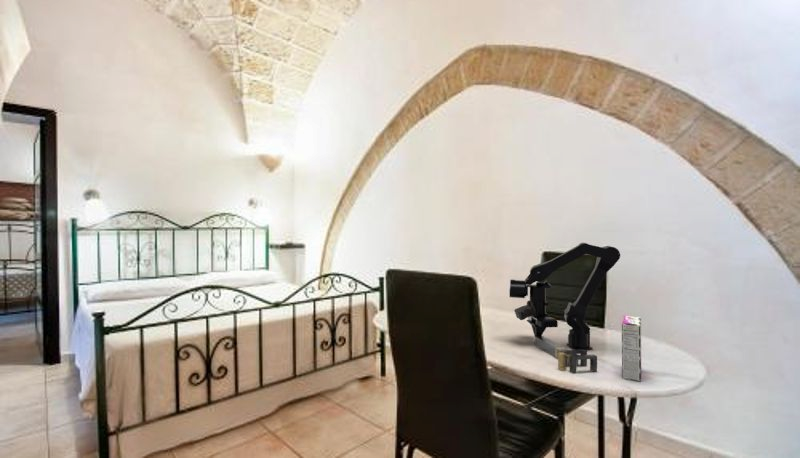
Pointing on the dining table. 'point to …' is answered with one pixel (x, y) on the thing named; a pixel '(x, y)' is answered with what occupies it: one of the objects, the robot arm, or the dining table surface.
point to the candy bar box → (631, 348)
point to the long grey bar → (551, 347)
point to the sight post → (562, 361)
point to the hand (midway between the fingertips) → (537, 340)
